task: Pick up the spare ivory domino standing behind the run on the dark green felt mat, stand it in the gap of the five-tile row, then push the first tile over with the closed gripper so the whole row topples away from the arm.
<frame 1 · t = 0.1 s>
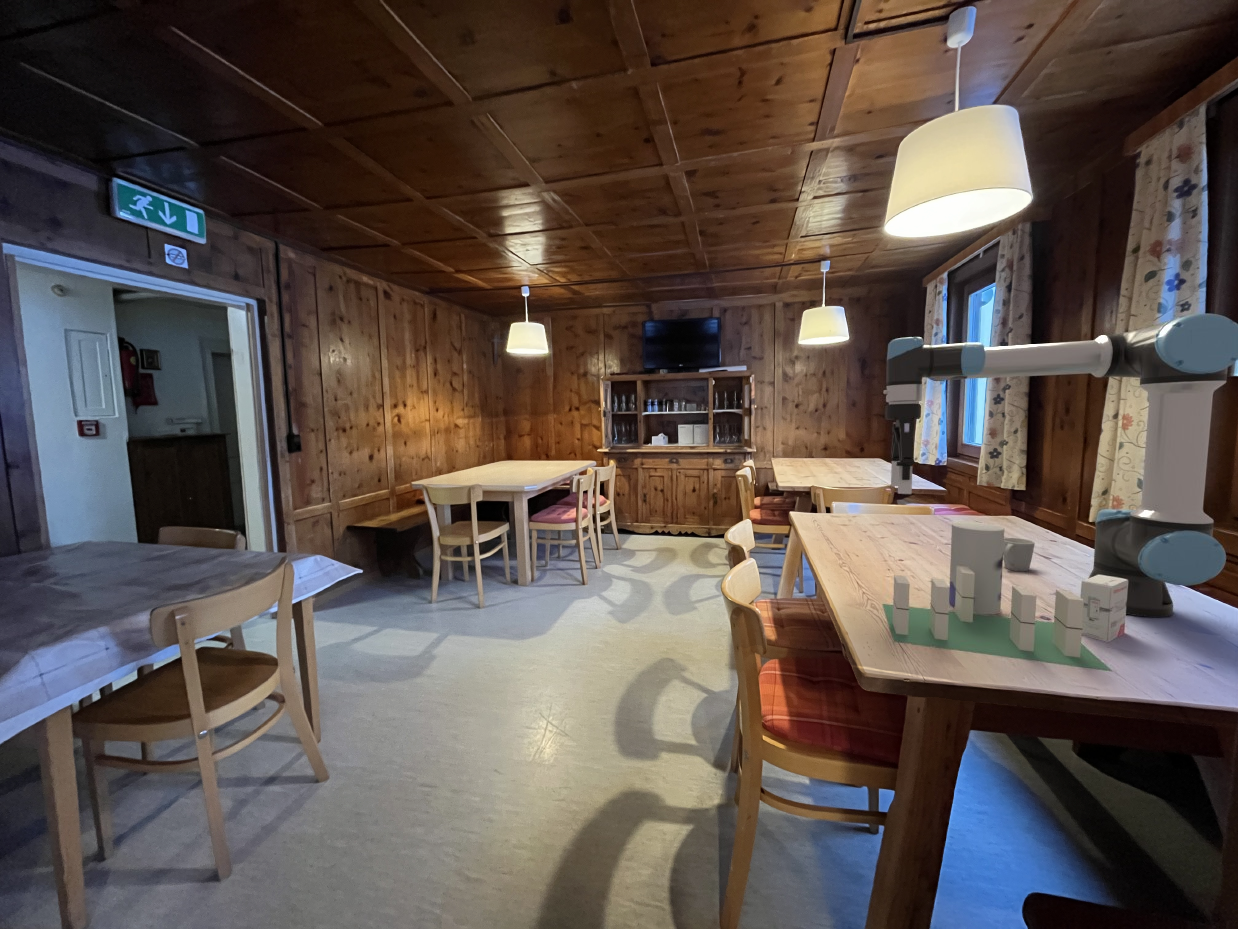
hand: (900, 489, 121), 28 cm above the table, fingers open, 13 cm apart
container: (973, 608, 118), on the table
domino 4: (938, 634, 103), resting on felt mat
felt mat: (978, 633, 103), on the table
domino 1: (1066, 650, 95), resting on felt mat
domino 2: (1021, 644, 97), resting on felt mat
cup: (1014, 570, 146), on the table
ink box: (1101, 635, 102), on the table
domino 5: (900, 629, 106), resting on felt mat
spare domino: (963, 617, 111), resting on felt mat
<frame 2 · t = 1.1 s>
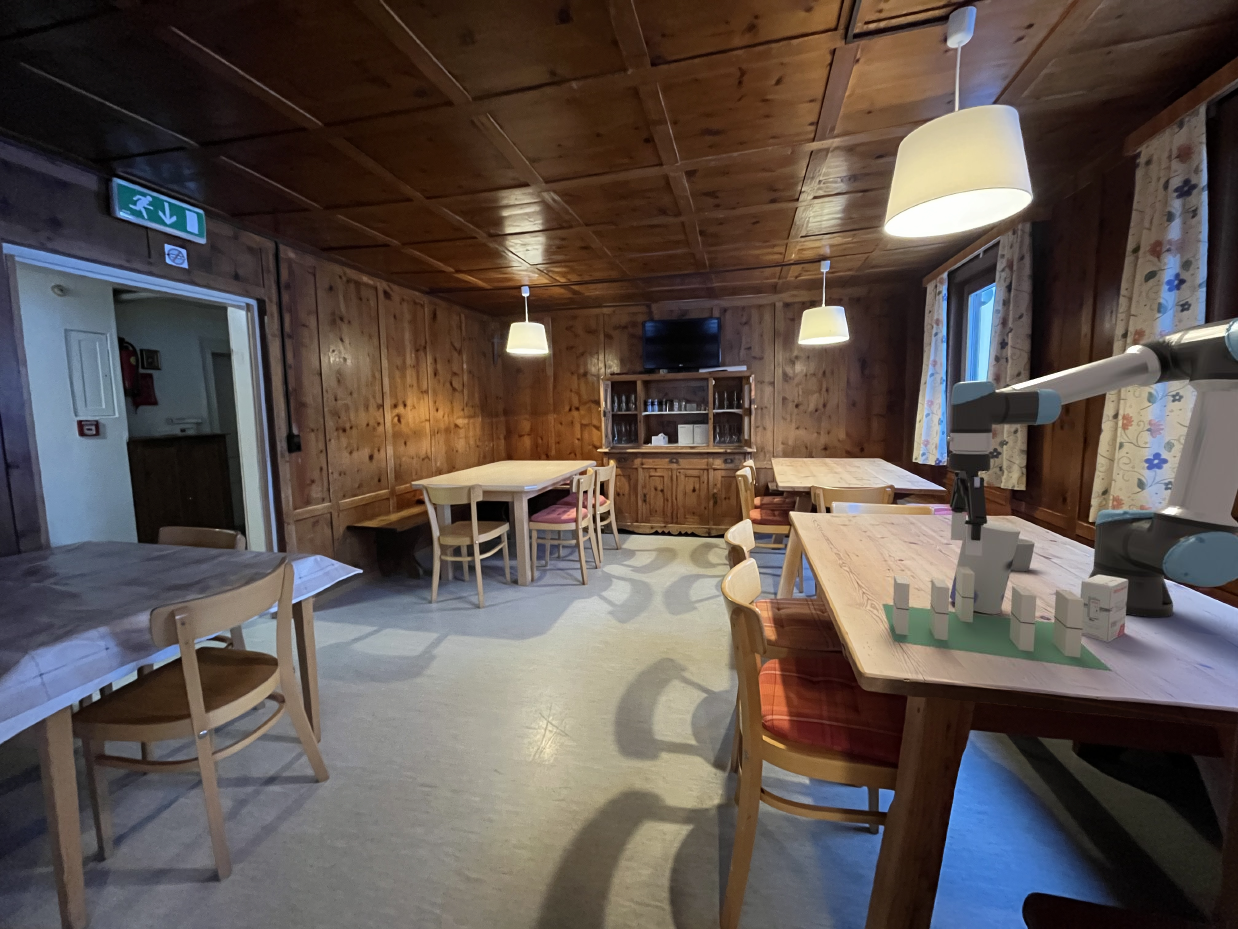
hand: (965, 547, 110), 17 cm above the table, fingers open, 13 cm apart
container: (974, 605, 117), point 1 cm above the table, touching gripper
everything else where it was.
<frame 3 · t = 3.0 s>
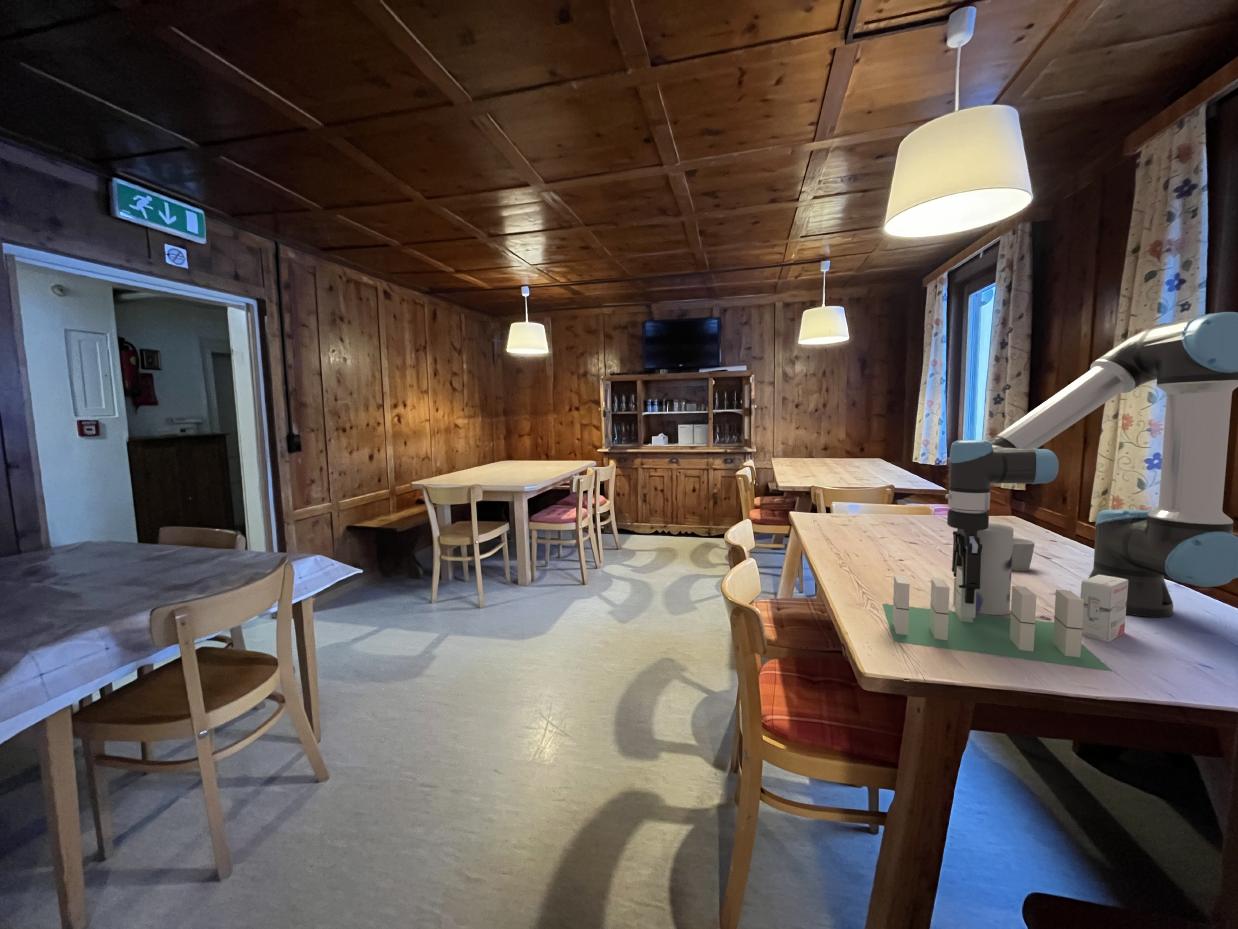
hand: (963, 611, 111), 2 cm above the table, fingers closed on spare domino, 5 cm apart
container: (982, 608, 117), on the table
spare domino: (963, 617, 111), resting on felt mat, touching gripper
everything else where it was.
when the fingers open (3 cm above the table, at t = 7.8 s): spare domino stays where it is, resting on felt mat.
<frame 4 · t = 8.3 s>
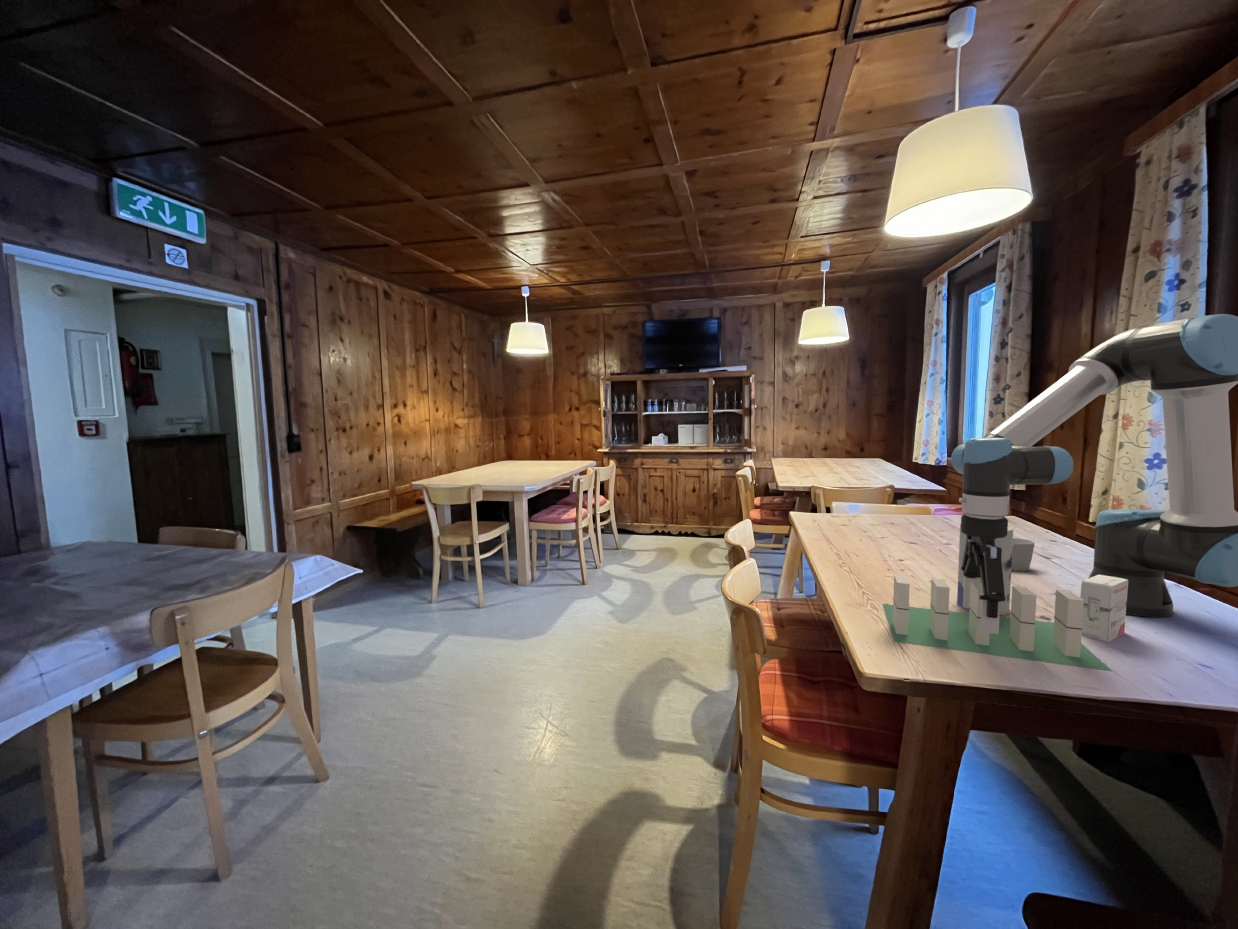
hand: (979, 619, 100), 5 cm above the table, fingers open, 12 cm apart
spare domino: (978, 639, 100), resting on felt mat
everything else where it was.
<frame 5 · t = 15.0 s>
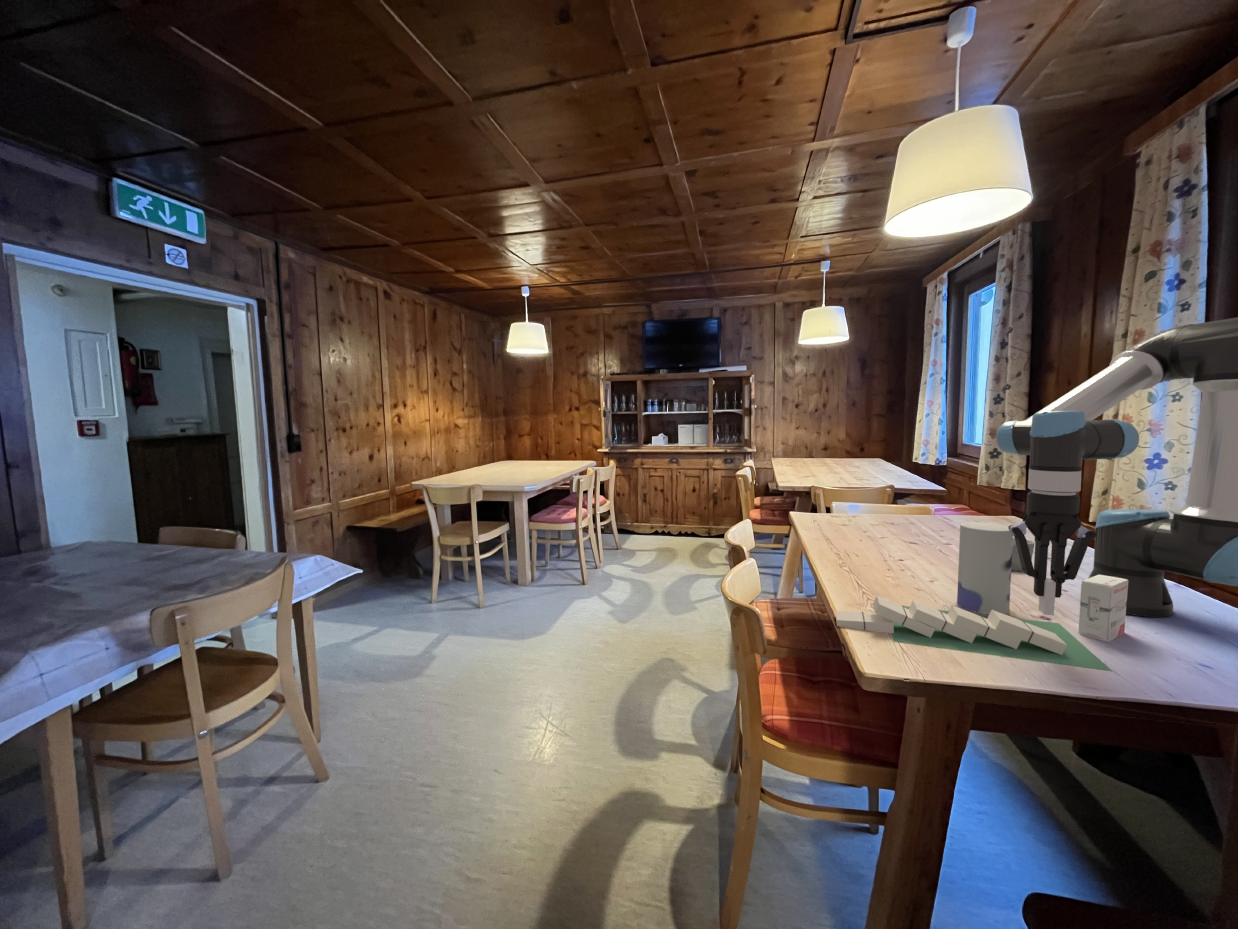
hand: (1046, 612, 95), 7 cm above the table, fingers closed
domino 4: (930, 628, 103), point 1 cm above the table, tilted 69°
domino 1: (1058, 644, 95), point 1 cm above the table, tilted 72°, touching domino 2
domino 2: (1014, 638, 98), point 1 cm above the table, tilted 72°, touching domino 1, felt mat
domino 5: (891, 623, 106), point 2 cm above the table, tilted 94°, touching felt mat
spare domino: (970, 633, 101), point 1 cm above the table, tilted 70°, touching felt mat
everything else where it was.
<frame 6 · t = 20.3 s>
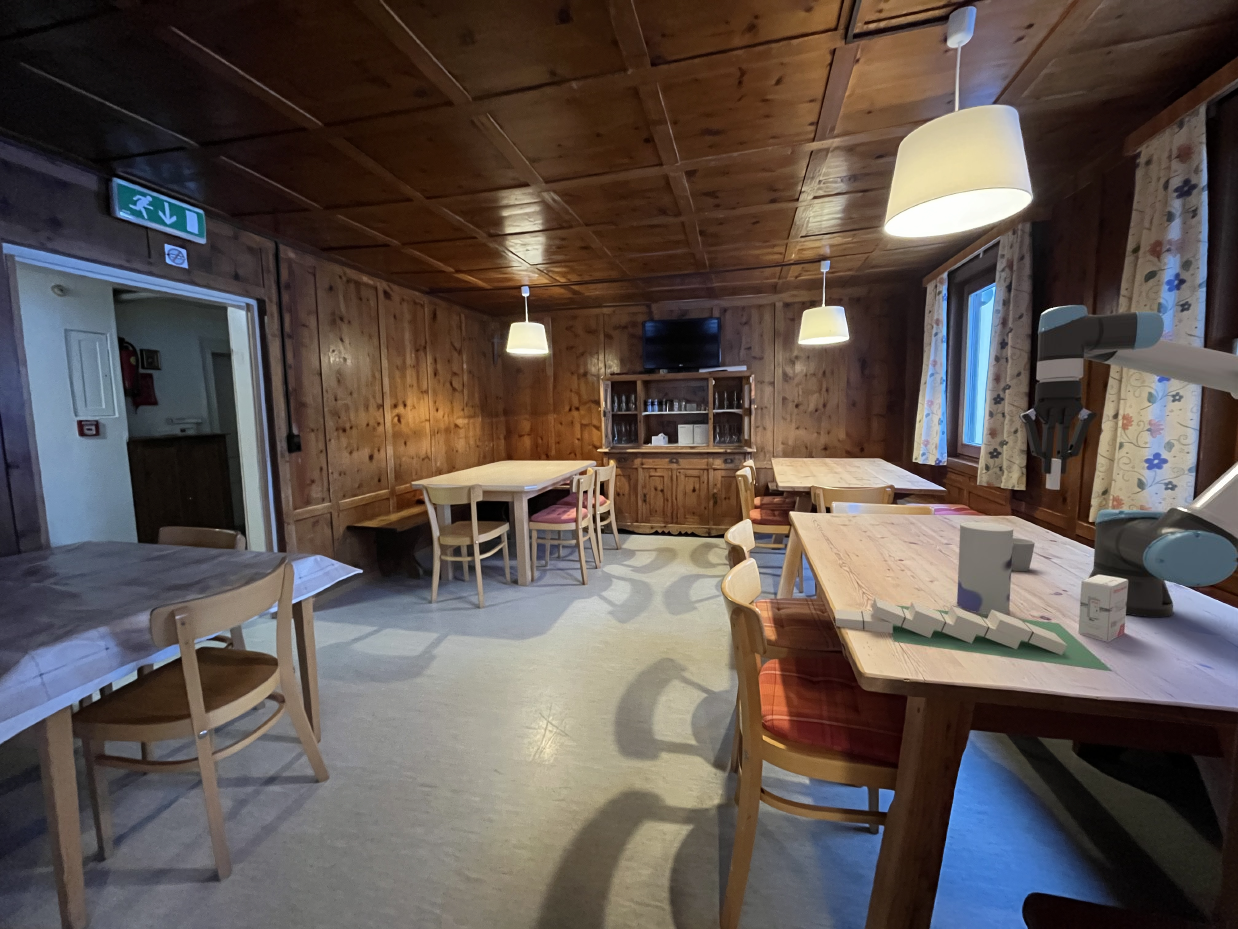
hand: (1052, 488, 108), 29 cm above the table, fingers closed
domino 4: (929, 628, 103), point 1 cm above the table, tilted 72°, touching domino 5, felt mat, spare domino
domino 1: (1058, 644, 95), point 1 cm above the table, tilted 72°, touching domino 2, felt mat
domino 2: (1013, 638, 98), point 1 cm above the table, tilted 72°, touching domino 1, felt mat, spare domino
domino 5: (891, 623, 106), point 2 cm above the table, tilted 93°, touching domino 4, felt mat
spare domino: (970, 633, 101), point 1 cm above the table, tilted 72°, touching domino 2, domino 4, felt mat
everything else where it was.
at the end: domino 5 tilted 93°; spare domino tilted 72°; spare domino inside the target area (1.6 cm from its centre), point 1.4 cm above the table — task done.
